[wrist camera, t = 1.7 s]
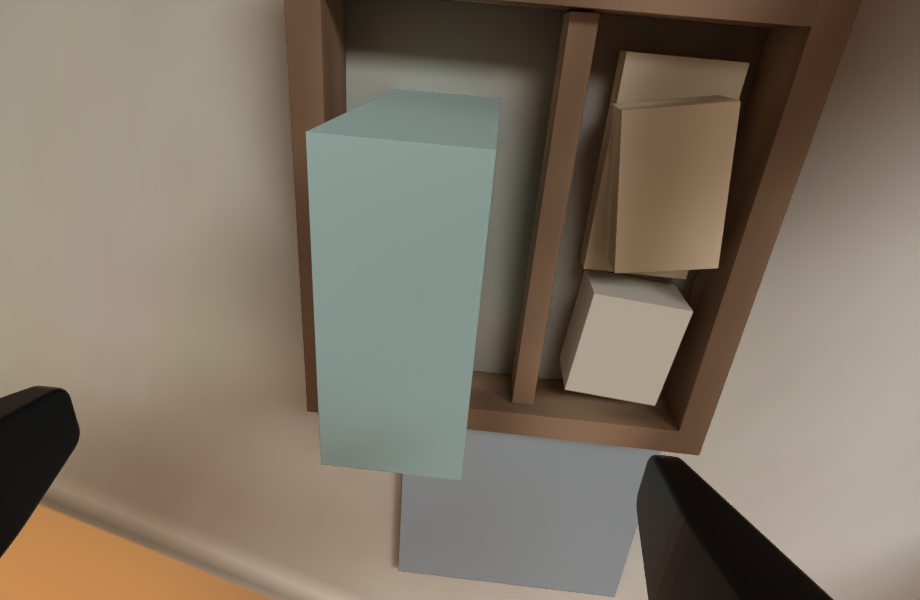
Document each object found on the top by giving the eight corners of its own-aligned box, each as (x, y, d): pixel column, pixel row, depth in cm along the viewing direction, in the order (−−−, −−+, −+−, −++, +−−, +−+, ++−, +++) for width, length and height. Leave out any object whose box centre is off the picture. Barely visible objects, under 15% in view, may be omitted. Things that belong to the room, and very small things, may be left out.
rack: (815, -7, 16) (866, -15, 14) (679, 413, 23) (699, 455, 20) (311, -50, 16) (280, -63, 14) (326, 375, 23) (307, 411, 21)
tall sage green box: (500, 98, 18) (496, 150, 10) (477, 312, 21) (461, 480, 13) (395, 89, 18) (305, 131, 10) (390, 303, 22) (320, 464, 13)
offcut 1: (729, 60, 17) (749, 63, 16) (673, 262, 20) (686, 279, 19) (616, 50, 17) (626, 51, 16) (577, 252, 21) (583, 268, 19)
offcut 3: (673, 282, 20) (693, 311, 18) (640, 370, 22) (655, 405, 20) (584, 266, 20) (594, 293, 18) (558, 355, 22) (564, 389, 20)
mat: (666, 418, 23) (668, 424, 22) (612, 589, 28) (614, 597, 27) (407, 389, 23) (405, 395, 23) (399, 564, 28) (398, 570, 28)
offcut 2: (719, 95, 16) (740, 101, 15) (701, 250, 19) (718, 268, 17) (611, 103, 17) (621, 110, 15) (605, 255, 19) (614, 273, 17)
